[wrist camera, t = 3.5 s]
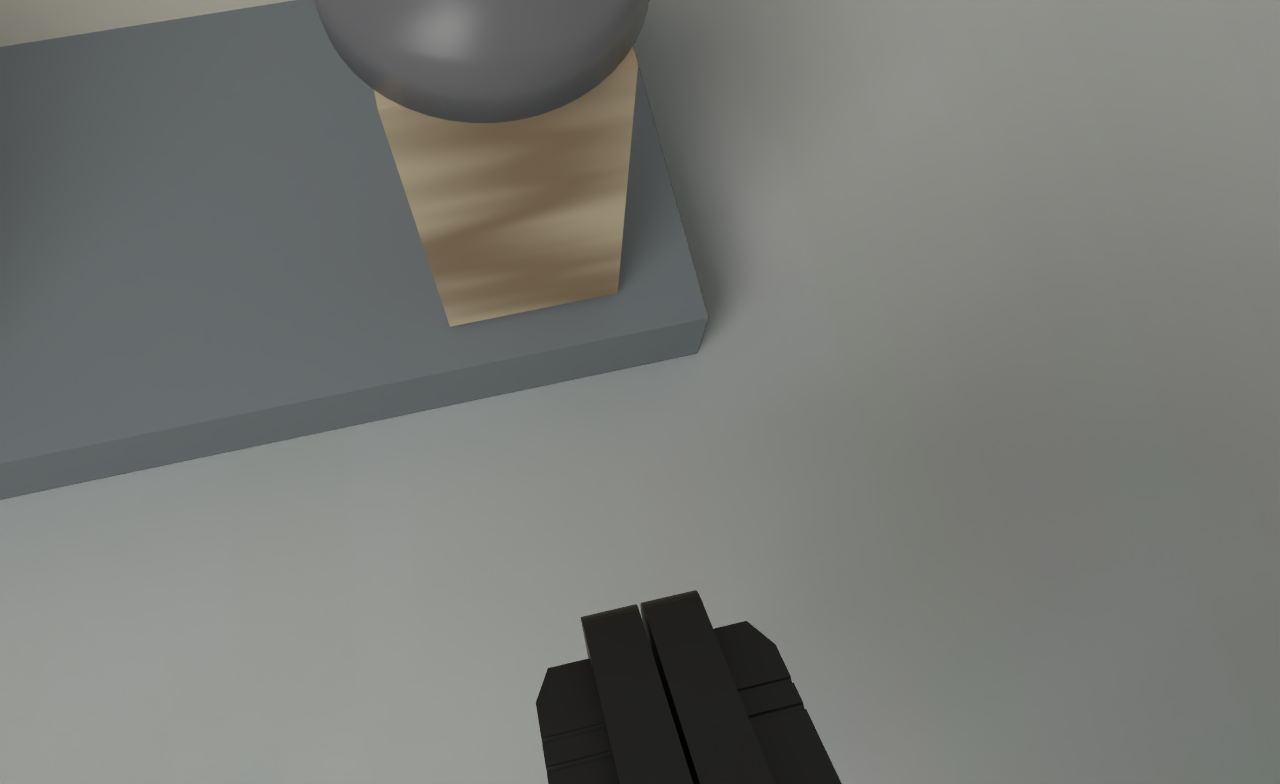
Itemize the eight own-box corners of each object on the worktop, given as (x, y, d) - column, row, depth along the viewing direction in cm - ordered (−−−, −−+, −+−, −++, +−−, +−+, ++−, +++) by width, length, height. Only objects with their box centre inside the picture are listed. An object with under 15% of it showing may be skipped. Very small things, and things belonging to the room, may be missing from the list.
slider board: (-296, 561, 24) (-824, 467, 15) (-285, 88, 28) (-706, -218, 19) (697, 353, 27) (756, 169, 18) (588, -50, 31) (591, -372, 22)
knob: (428, 355, 24) (316, 88, 14) (391, 159, 25) (265, -215, 15) (648, 311, 24) (696, 23, 14) (599, 122, 26) (611, -261, 16)
